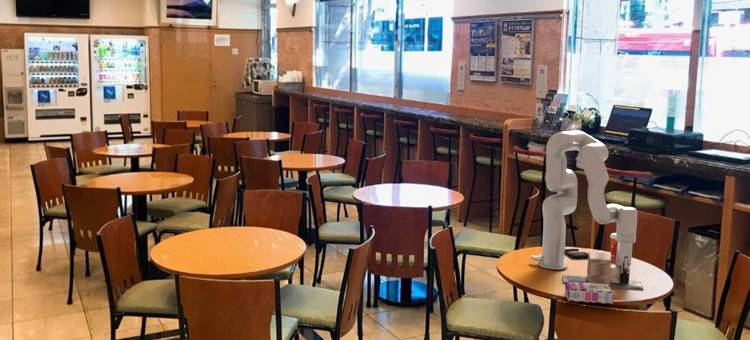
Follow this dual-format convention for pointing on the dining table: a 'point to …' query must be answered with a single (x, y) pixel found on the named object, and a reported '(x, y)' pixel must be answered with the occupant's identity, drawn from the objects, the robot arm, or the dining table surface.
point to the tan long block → (601, 273)
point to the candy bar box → (589, 292)
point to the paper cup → (613, 247)
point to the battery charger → (576, 254)
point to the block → (613, 275)
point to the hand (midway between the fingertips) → (622, 280)
